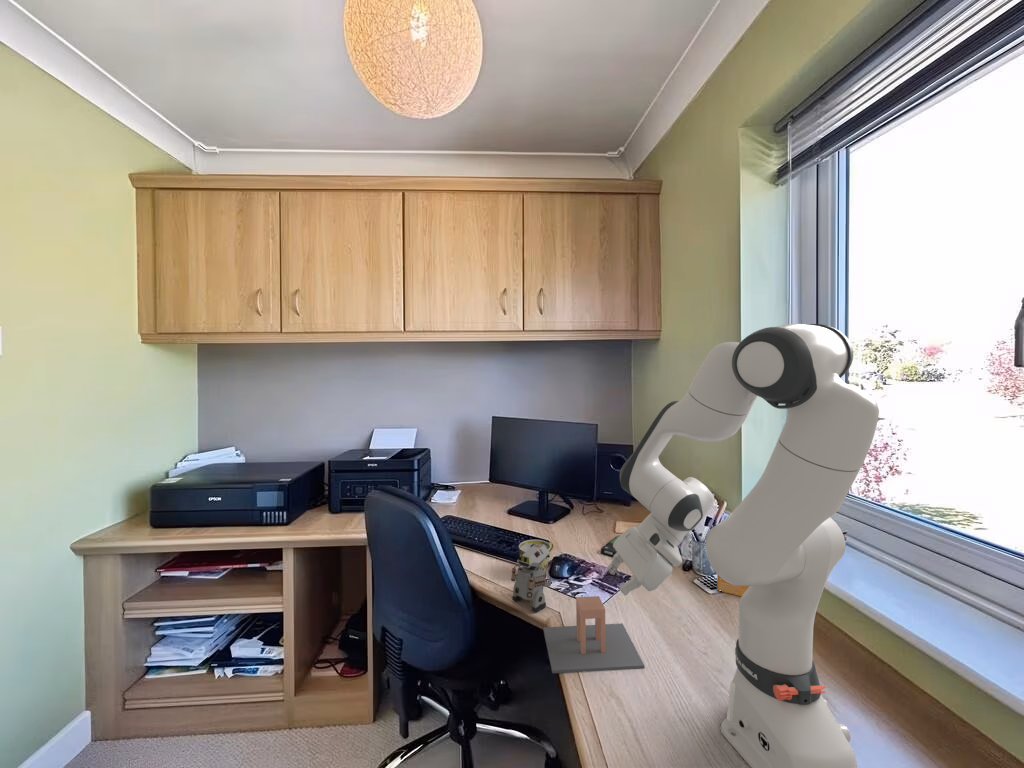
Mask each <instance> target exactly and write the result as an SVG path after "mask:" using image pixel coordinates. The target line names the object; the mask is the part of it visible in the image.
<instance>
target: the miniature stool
mask: <svg viewBox="0 0 1024 768" xmlns="http://www.w3.org/2000/svg"><path fill="white" fill-rule="evenodd" d="M575 606H576V607H575V609H576V610H575V611H576V612H575V614H576V615H575V616H576V617H575V618H576V619H575V620H576V622H575V623H576V625H575V626H576V628H577V641H580V643H581V654H586V625H587V622H586V620H588V619H589V620H591V619H594V625H595V638H596V640H600V651H601V653H606V634H605V624H606V607H605V606H604V603H603V601H602V600H601V597H600V596H599V595H597V596H596V595H593V596H576V597H575Z"/></svg>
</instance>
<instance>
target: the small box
mask: <svg viewBox="0 0 1024 768" xmlns="http://www.w3.org/2000/svg"><path fill="white" fill-rule="evenodd" d="M716 574H717V573H716ZM716 582H717V584H716V586H717V590H721V591H722V592H721V593H725V594H730V595H735V596H739V597H742V595H743V594H744V592H745V591H746V590H747V589H748V588H749V587H750V586H743V585H733V584H730V583H728V582H726V581H725V580H723V579H722V578H721V577H720V576H719V575H718V574H717V581H716ZM717 590H716V591H717Z"/></svg>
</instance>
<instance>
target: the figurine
mask: <svg viewBox="0 0 1024 768" xmlns="http://www.w3.org/2000/svg"><path fill="white" fill-rule="evenodd" d="M530 547H531V548H530V549H529V550H527V551H526V552H525V553H524V554H523V555H522V556H521V557H520V556H519V558H518V559H517V560H516V561H517V564H518V565H514V567H513V568H512V570H511V579H510V580H511V582H514V584H513V585H514V586H513V589H512V590H513V592H512V598H511V599H512V600H511V601H514V602H516V603H517V602H518V601H520V599H524V600H527V601H532V607H531V611H532V612H534V613H536V614H537V613H538V612H540V610H543V609H545V608H546V606H547V604H546V600H545V598H546V597H545V593H544V587H545V588H547V587H548V588H551V585H552V577H549V578H550V579H549V580H548V581H546V578H547V572H546V573H545V572H544V571H543V570H540V566H541V563H542V562H543V561H544V560H545V559H546V558H547V557H549V559H550V558H551V556H549V554H550V555H551V553H550V552H549V551H548V549H547V548H546V547H545V545H544V544H541V543H536V544H534V543H533V544H532V545H531V546H530ZM522 566H524V567H522ZM516 567H517V571H516ZM516 572H517V573H516Z"/></svg>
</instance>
